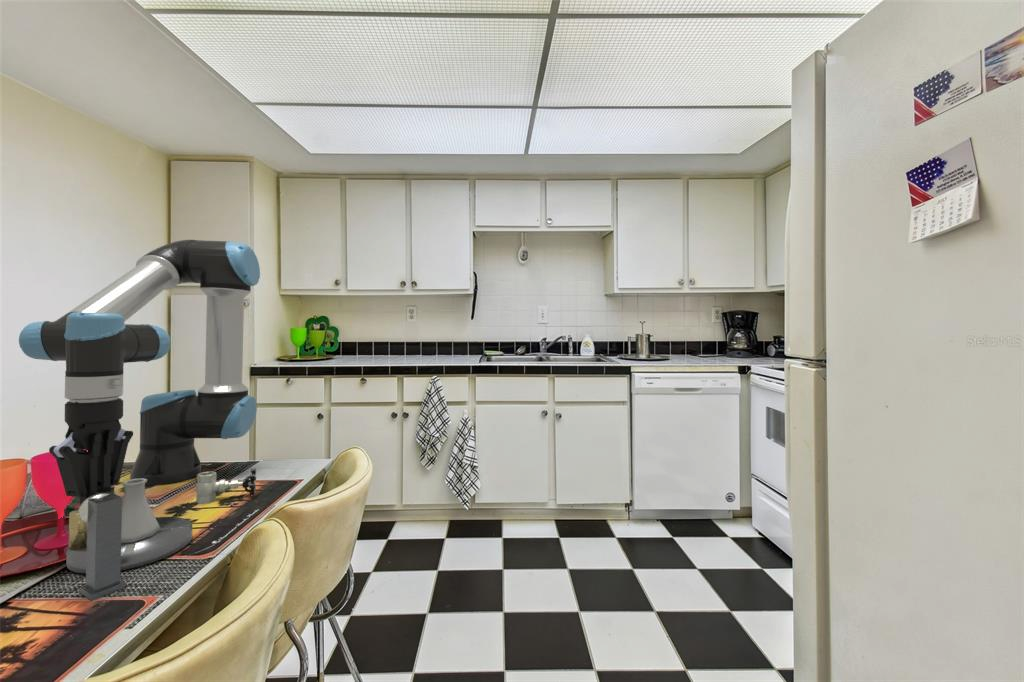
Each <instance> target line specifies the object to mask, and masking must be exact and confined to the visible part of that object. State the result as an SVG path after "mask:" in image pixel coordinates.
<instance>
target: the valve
mask: <svg viewBox="0 0 1024 682" xmlns="http://www.w3.org/2000/svg"><path fill="white" fill-rule="evenodd" d="M217 476H218V475H217V472H216V471H214V470H213V471H212V470H211V471H203V472H202V471H201V473H199V474H198V475H197V476H196V482H197V484H196V485H195V493H196V498H195V499H196V501H195V502H196V503H197V504H199V505H201V504H203V503H204V504H210V503H213V502H214V501H216V500H215V499H217V493H216V492H219V493H225V491H226V490H228V489H229V488H230V489H238V488H239V487H242V488H243V489H244V491H245V492H246V493H249V494H248V495H249V496H250V497H252V496H251V495H255V496H256V481H257V468H251V469H250V475H247V476H246V477H245V479H242V481H239V480H231V481H230V482H229V481H228V480H226V479H225V478H222V479H219V481H217Z"/></svg>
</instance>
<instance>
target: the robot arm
mask: <svg viewBox="0 0 1024 682" xmlns="http://www.w3.org/2000/svg"><path fill="white" fill-rule="evenodd" d="M260 276H261V267H260V263H259V260H258V257H257V255H256V253H255V251H254V249H252V247H251V246H250V245H248V244H246V243H243V242H236V241H229V240H228V241H223V240H218V241H217V240H201V239H200V240H199V239H197V240H195V239H183V240H182V239H181V240H177V241H172V242H170V243H167V244H163V245H161V246H159V247H157V248H156V249H153V250H151V251H149V252H147V253H146V254H144V255H143V256H141V257H140V258H138V259H137V261H136V263H135V267H133V268H132V269H130V270H129V271H127V272H126V273H125V274H123V275H121V276H119V278H117V279H115V280H114V281H113V282H111V283H109V284H108V285H107V286H106V287H104V288H102V289H101V290H100V291H99V290H98V292H97V293H95V294H93V295H92V296H91V297H89V298H88V299H86V300H85V301H83V302H82V303H80V304H79V305H77V306H76V307H74V308H72V310H70V311H68V312H67V313H65V314H64V315H62V316H61V317H59V318H58V319H56V320H54V321H49V320H43V321H35V322H31V323H28V324H27V325H25V326H24V327H23V329H22V330H21V331H20V333H19V336H18V344H19V347H20V349H21V352H23V354H25V356H27V357H28V358H31V359H35V360H41V361H42V360H43V361H52V362H59V361H61V362H62V361H65V372H64V373H65V374H64V375H65V376H64V399H66V400H69V401H66V403H65V404H64V422H65V424H66V425H67V426H68V428H67V431H66V433H65V435H64V437H65V439H64V440H63V441H62V442H61V443H59V444H58V445H52V446H51V447H49V450H48V451H49V453H50V454H51V456H53V458H54V459H55V460H56V463H57V469H58V471H59V474H60V477H61V481H62V484H63V487H64V492H66V495H67V496H72V497H79V498H80V506H81V504H82V503H83V502H84V501H85V500H86V499H87V498H89V497H90V496H92V495H95V494H99V493H107V492H112V491H113V489H114V490H115V488H114V487H115V486H116V485H118V484H120V482H121V481H120V480H121V476H122V471H123V467H124V465H125V464H124V463H125V459H126V455H127V450H128V445H129V443H130V441H131V439H132V437H133V435H134V431H133V430H126V429H123V428H122V424H121V423H120V420H121V419H122V418H124V417H123V416H124V399H122V398H121V396H123V395H124V365H125V364H127V363H138V362H139V363H140V362H145V363H149V362H151V361H155V360H160V359H162V358H163V357H165V356H166V355H167V354H168V353H169V351H170V348H171V344H172V343H171V342H172V341H171V337H170V335H169V333H168V332H167V331H166V330H165V329H164V328H163V327H160V326H158V325H153V324H152V325H151V324H147V323H146V324H143V323H142V324H131V323H130V324H127V323H126V324H125V322H126V321H127V320H129V319H130V318H131V317H133V316H134V315H135V314H136V313H138V312H139V311H140V310H141V309H142V308H143V307H145V306H146V305H147V304H148V303H149V302H151V301H152V300H154V299H155V298H156V297H157V296H158V295H160V294H161V293H162V292H163V291H164V290H165V291H166V290H172V289H174V288H175V287H177V286H178V285H180V284H190V283H191V284H192V283H193V284H199V289H200V291H201V292H202V293H203V294H204V295H205V296H206V321H205V322H206V323H205V359H204V360H205V365H204V366H205V367H204V368H205V369H204V384H203V385H202V386H201V387H200V388H199V389H198V390H197V392H196V390H195V389H185V390H175V391H168V392H167V391H166V392H160V393H154V394H150V395H146V396H145V397H144V398H142V400H141V405H140V411H139V416H140V419H139V420H140V422H139V452H138V455H137V457H136V459H135V461H134V464H133V466H132V469H131V471H130V474H129V480H131V479H138V478H144V479H147V482H146V483H145V486H159V485H167V484H174V483H177V482H182V481H185V480H186V481H187V480H190V479H193V478H195V477H197V475H198V474H199V473H202V462H201V460H200V458H199V455H198V452H197V450H196V447H195V439H221V440H227V439H239V438H242V437H243V436H245V435H246V434H247V433H248V432H249V431H250V430H251V428H252V426H253V424H254V421H255V419H256V416H257V415H256V414H257V409H258V403H257V400H256V399H257V398H255V397H254V396H252V395H251V394H249V388H248V386H246V385H245V384H244V383H243V367H244V366H243V363H244V362H243V360H244V359H243V356H244V355H243V354H244V322H245V321H244V319H245V317H244V315H245V314H244V313H245V298H246V297H247V296H248V295H249V294H251V292H252V291H251V290H252V289H251V287H254V286H256V285H257V284H258V283H259V280H260V278H261V277H260ZM83 449H86V450H88V452H87V451H86V450H83ZM110 477H112V478H110ZM113 485H114V487H111V486H113Z"/></svg>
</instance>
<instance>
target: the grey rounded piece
mask: <svg viewBox="0 0 1024 682" xmlns="http://www.w3.org/2000/svg"><path fill="white" fill-rule="evenodd" d="M78 511H79V510H74V511H72V512H70V513H69V519H68V522H69V523H68V547H67V550H66V562H65V563H66V567H67V569H68V570H70V571H72V572H73V573H78V574H86V560H87V523H86V522H84V521H82V520H81V519H80V518H79V515H78ZM155 518H156V520H157V522H158V524H159V526H160V528H161V529H160V530H158V531H157V532H156V533H155V534H154V535H152V536H150V537H147V538H144V539H141V540H139V541H136V542H129V543H121V566H120V571H125V570H130V569H134V568H138V567H142V566H145V565H147V564H151V563H155V562H157V561H160V560H162V559H165V558H167V557H169V556H171V555H174V554H176V553H177V552H179V551H180V550H182V549H184V548H185V547H186V546H187V545H189V544H190V542H191V541H192V538H193V523H192V521H191V520H189V519H187V518H184V517H179V516H159V517H158V516H155Z"/></svg>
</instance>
